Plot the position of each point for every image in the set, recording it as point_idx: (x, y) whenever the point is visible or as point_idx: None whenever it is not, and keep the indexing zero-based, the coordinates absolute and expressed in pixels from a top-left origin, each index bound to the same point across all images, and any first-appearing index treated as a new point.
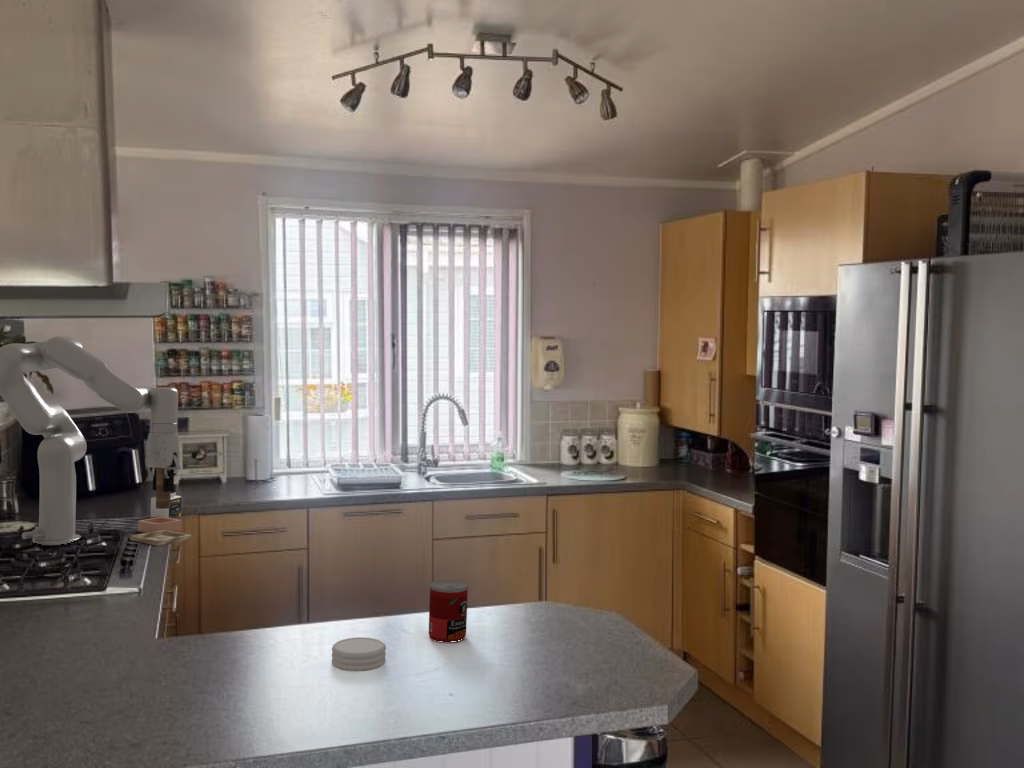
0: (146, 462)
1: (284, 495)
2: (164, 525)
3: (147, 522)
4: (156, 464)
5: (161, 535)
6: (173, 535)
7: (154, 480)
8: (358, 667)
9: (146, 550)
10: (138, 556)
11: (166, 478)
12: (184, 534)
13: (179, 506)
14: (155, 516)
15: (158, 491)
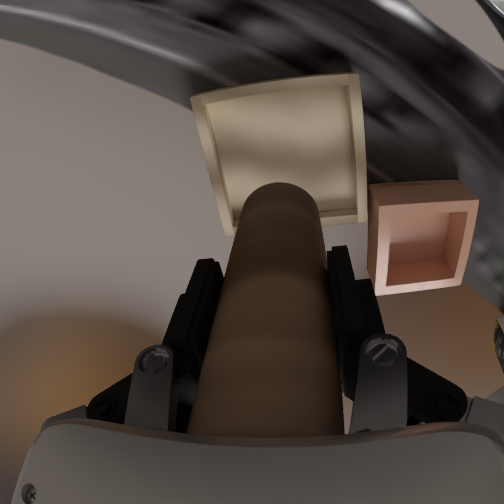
0: (482, 462)
1: None
2: (376, 231)
3: (432, 202)
4: (196, 477)
5: (347, 192)
6: None
7: (338, 306)
8: None
9: (187, 52)
10: (120, 6)
11: (156, 345)
12: None
13: (500, 360)
14: None
15: (258, 241)
